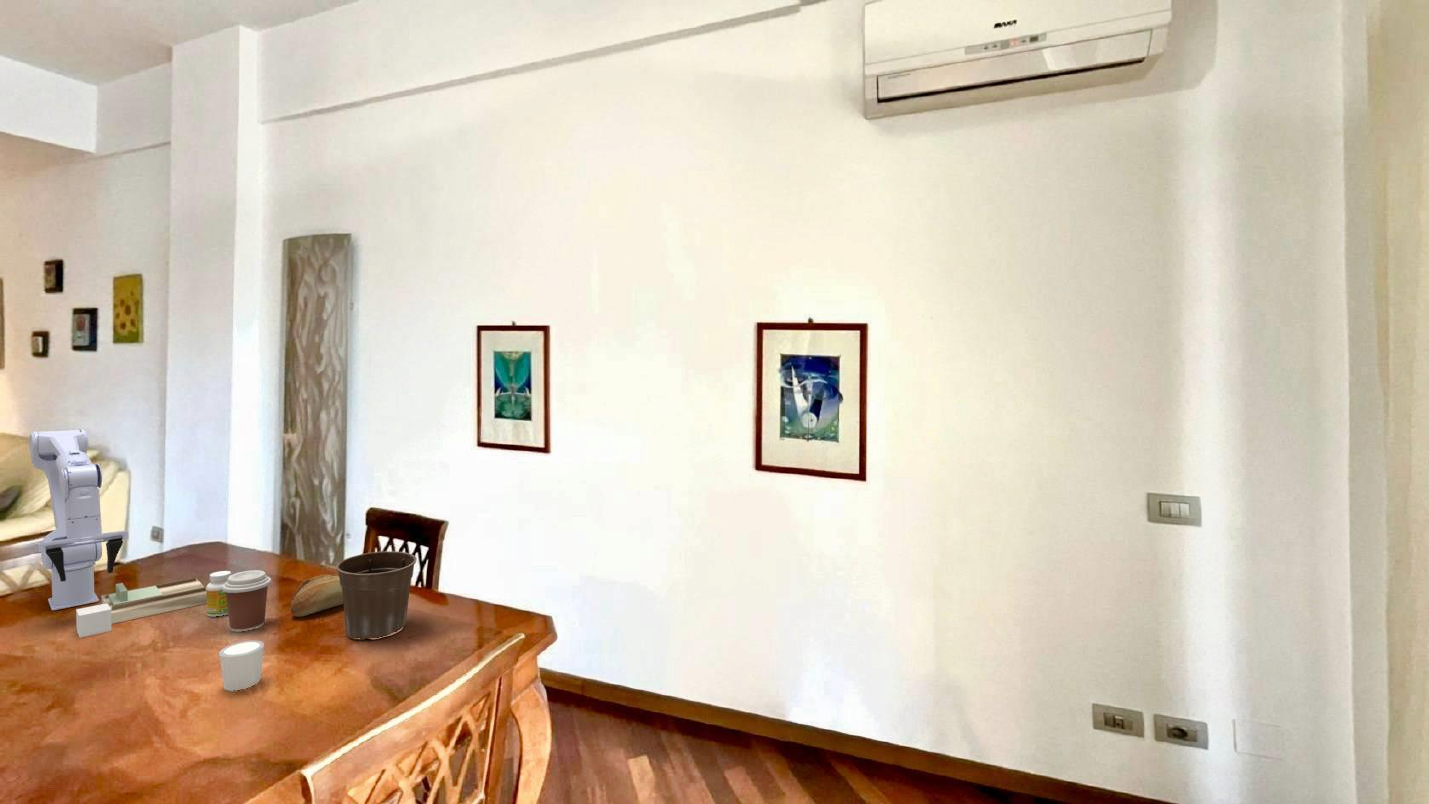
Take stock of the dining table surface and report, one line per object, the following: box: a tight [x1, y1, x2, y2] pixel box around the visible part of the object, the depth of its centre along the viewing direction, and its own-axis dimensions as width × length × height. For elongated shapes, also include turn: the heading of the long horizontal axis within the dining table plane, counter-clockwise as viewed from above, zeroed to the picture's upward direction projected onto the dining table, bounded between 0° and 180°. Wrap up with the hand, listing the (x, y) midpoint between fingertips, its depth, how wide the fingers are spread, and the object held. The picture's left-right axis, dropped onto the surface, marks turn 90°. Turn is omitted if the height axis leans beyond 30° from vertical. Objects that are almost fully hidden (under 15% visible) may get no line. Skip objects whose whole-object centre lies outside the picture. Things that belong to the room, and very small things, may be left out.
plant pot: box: [335, 550, 417, 640], centre depth 143 cm, size 16×16×16 cm
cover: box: [109, 582, 163, 606], centre depth 150 cm, size 8×8×3 cm
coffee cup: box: [222, 569, 272, 633], centre depth 143 cm, size 9×9×12 cm
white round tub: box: [218, 640, 265, 692], centre depth 119 cm, size 7×7×7 cm
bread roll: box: [290, 574, 344, 617], centre depth 154 cm, size 10×15×8 cm, turn 158°
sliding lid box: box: [100, 577, 207, 625], centre depth 154 cm, size 15×18×3 cm
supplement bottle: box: [206, 570, 232, 618], centre depth 150 cm, size 5×5×10 cm
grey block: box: [75, 603, 113, 639], centre depth 138 cm, size 5×5×5 cm
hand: (87, 576), depth 143 cm, fingers open, 7 cm apart
